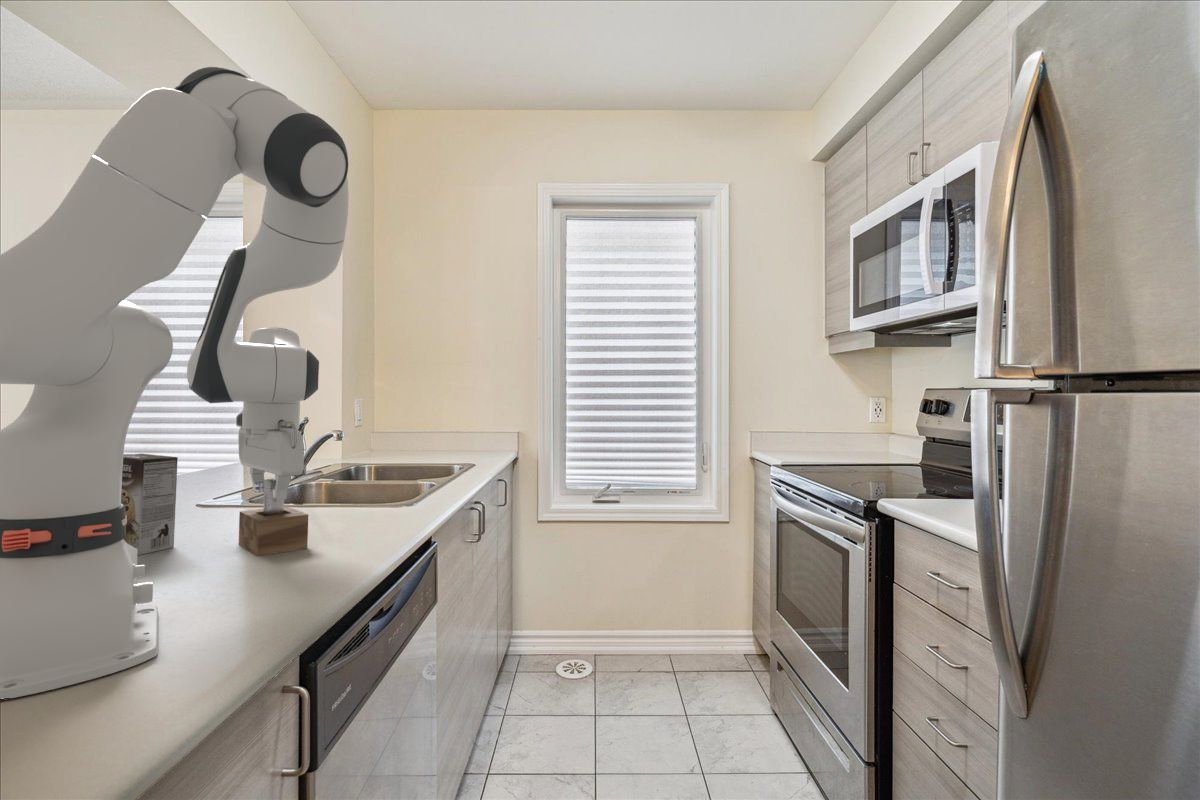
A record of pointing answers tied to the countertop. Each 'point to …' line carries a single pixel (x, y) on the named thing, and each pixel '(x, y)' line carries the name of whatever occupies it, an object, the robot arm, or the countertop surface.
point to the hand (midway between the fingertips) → (269, 495)
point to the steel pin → (271, 500)
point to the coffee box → (149, 501)
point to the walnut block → (273, 531)
